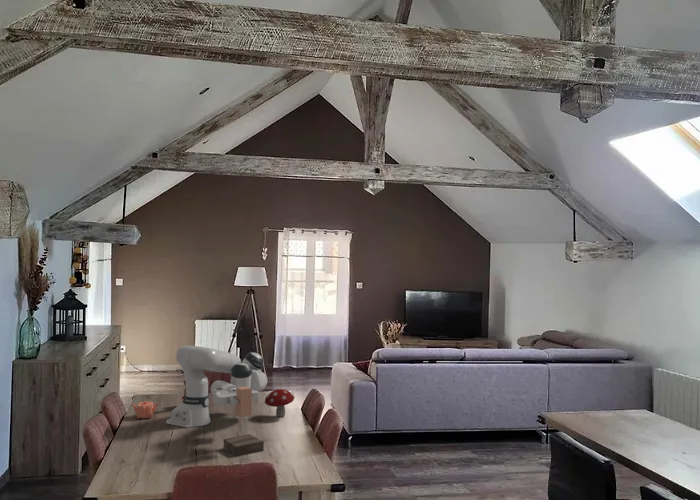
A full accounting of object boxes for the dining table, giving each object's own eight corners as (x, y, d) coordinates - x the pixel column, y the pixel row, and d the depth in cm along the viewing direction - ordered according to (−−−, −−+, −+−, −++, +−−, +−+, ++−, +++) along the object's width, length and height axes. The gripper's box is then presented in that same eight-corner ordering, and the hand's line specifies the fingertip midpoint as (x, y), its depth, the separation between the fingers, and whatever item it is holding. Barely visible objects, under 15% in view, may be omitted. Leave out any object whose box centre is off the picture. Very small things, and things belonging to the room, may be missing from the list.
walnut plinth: (223, 448, 268) (223, 439, 268) (249, 443, 276) (249, 434, 276) (236, 456, 257) (237, 447, 257) (263, 450, 265) (263, 441, 265)
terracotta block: (235, 414, 267) (236, 387, 267) (245, 412, 270) (246, 386, 270) (240, 417, 263) (241, 389, 263) (251, 415, 266) (251, 388, 266)
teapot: (158, 419, 312) (159, 403, 312) (128, 421, 309) (128, 404, 309) (160, 413, 324) (161, 398, 324) (131, 414, 320) (131, 399, 320)
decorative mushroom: (296, 420, 315) (297, 391, 315) (266, 422, 310) (267, 393, 310) (291, 412, 330) (291, 384, 330) (262, 414, 325) (262, 386, 326)
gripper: (250, 398, 283) (265, 404, 272) (210, 404, 271) (223, 411, 260) (251, 384, 283) (265, 390, 272) (210, 390, 271) (223, 396, 260)
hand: (244, 400), depth 266 cm, fingers closed on terracotta block, 5 cm apart
